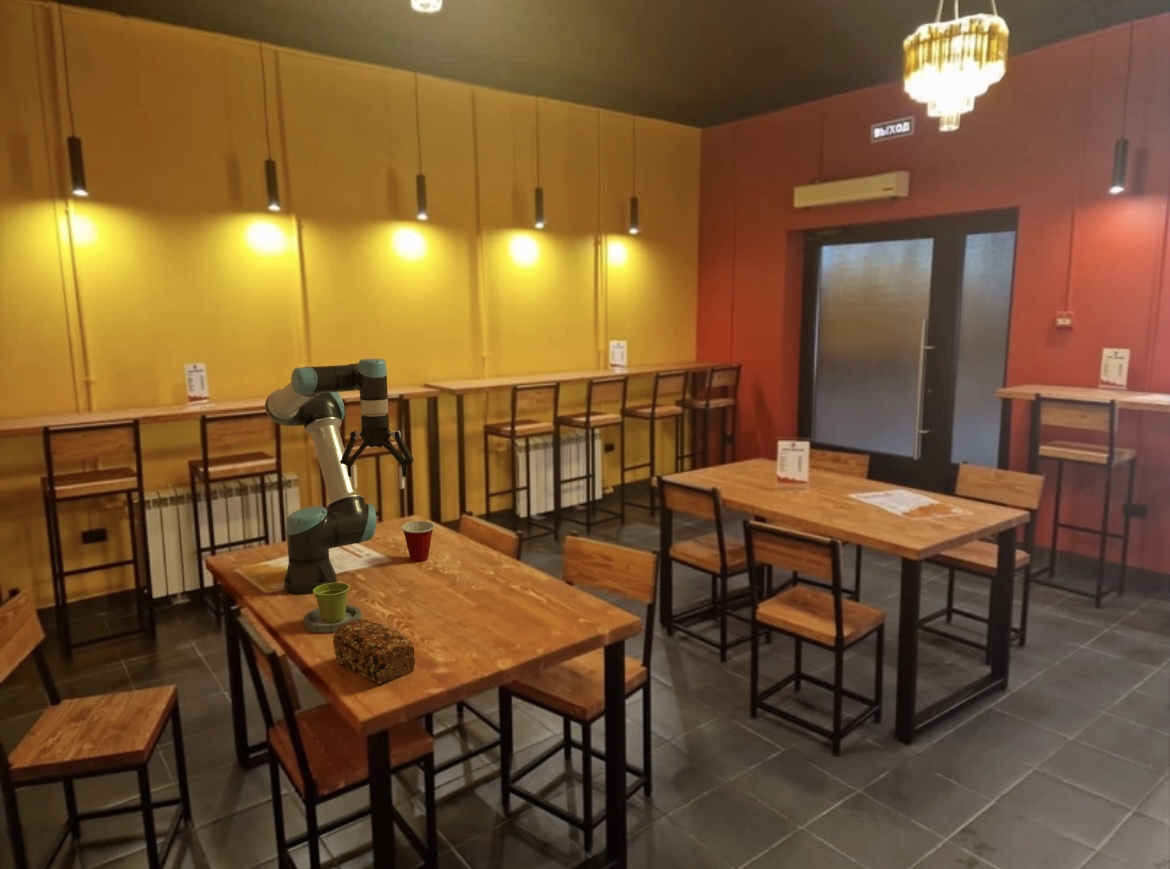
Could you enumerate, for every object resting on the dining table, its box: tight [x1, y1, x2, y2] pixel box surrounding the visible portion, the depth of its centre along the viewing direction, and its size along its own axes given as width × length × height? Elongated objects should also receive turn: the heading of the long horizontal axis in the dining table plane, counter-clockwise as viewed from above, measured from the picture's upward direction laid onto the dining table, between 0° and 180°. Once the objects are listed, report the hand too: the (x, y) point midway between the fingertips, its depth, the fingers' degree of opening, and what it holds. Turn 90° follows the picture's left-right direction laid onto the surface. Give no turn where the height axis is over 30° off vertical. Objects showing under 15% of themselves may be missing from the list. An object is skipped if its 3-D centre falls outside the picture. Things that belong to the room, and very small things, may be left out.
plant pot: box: [312, 582, 350, 623], centre depth 211 cm, size 9×9×9 cm
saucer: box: [303, 604, 363, 634], centre depth 211 cm, size 14×14×2 cm
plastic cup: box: [401, 520, 435, 563], centre depth 262 cm, size 11×11×12 cm
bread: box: [332, 618, 416, 685], centre depth 184 cm, size 19×11×10 cm, turn 49°
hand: (378, 488), depth 224 cm, fingers open, 13 cm apart
